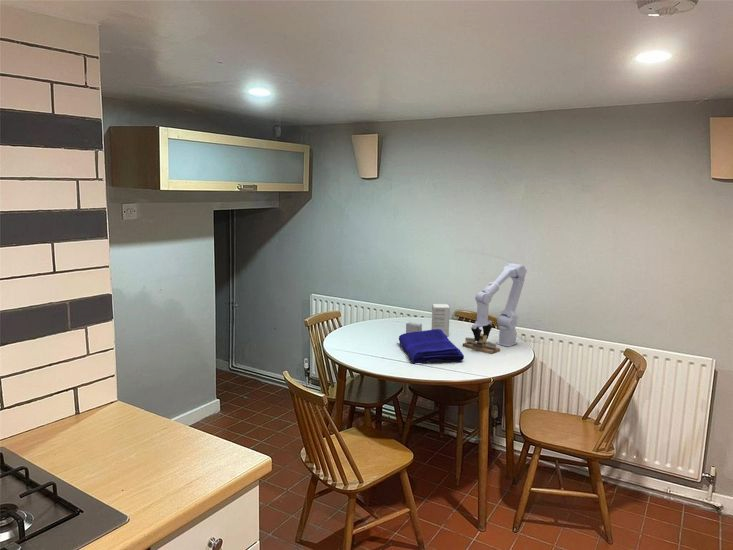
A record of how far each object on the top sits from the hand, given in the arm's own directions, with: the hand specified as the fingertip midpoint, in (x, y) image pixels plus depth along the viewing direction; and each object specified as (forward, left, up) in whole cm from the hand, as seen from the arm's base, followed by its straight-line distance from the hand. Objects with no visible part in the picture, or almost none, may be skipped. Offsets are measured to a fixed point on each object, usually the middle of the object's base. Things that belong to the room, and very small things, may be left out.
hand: (481, 339), depth 283 cm
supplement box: (-5, -32, -5) cm, 33 cm away
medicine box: (+13, -36, -5) cm, 39 cm away
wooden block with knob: (0, 0, -3) cm, 3 cm away
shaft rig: (0, 0, -5) cm, 5 cm away
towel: (+26, -14, -6) cm, 30 cm away
